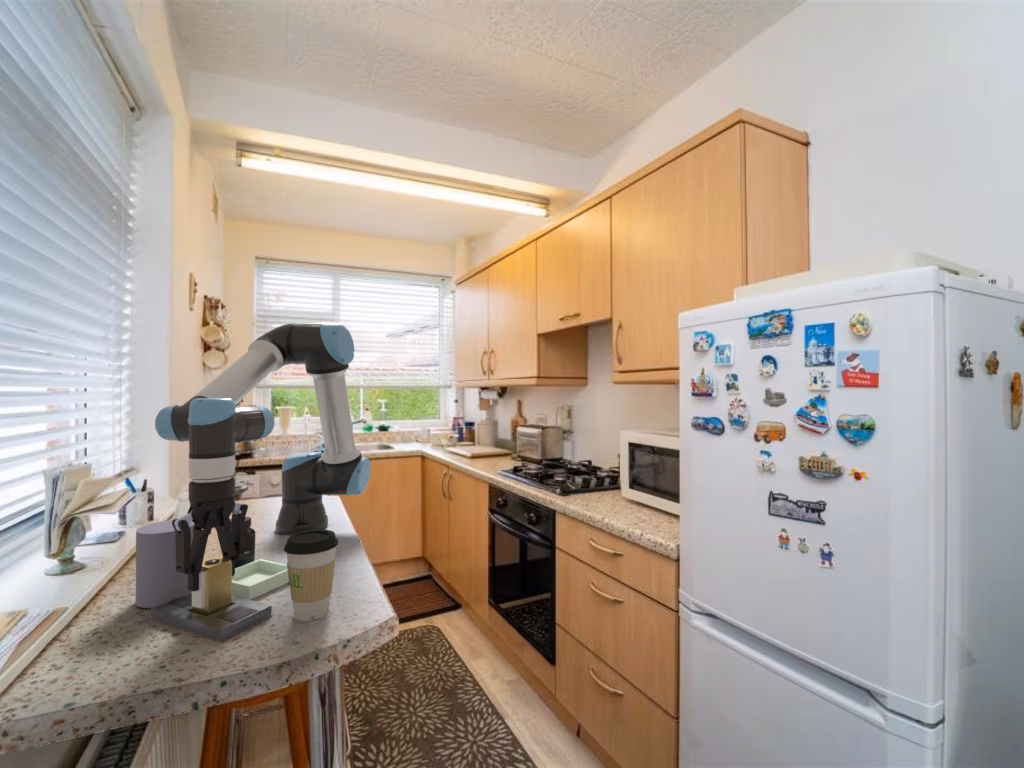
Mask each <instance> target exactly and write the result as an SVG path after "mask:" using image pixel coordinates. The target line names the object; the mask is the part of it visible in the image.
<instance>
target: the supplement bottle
mask: <svg viewBox="0 0 1024 768" xmlns="http://www.w3.org/2000/svg"><path fill="white" fill-rule="evenodd" d="M230 522H231V527H230V529H231V534H232V518H230ZM251 526H252V517H250V516H245V552H244V553H243V554H240V555H239V560H238V561H235V568H238V567H240V566H243V565H246V564H248V563H251V562H254V561H256V530H255V529H254V528H252V527H251Z"/></svg>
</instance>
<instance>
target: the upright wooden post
mask: <svg viewBox="0 0 1024 768" xmlns="http://www.w3.org/2000/svg"><path fill="white" fill-rule="evenodd" d="M201 571H204V572H205V607H204V608H198V607H194V606H193V613H196V614H200V615H203V616H209V615H211V614H213V613H216V612H218V611H220V610H222V609H224V608H227V607H229V606H231V560H230V559H225V558H223V557H221V556H220V557H219V556H213V557H211V558H208V559H203V563H202V568H201Z"/></svg>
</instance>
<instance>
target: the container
mask: <svg viewBox="0 0 1024 768" xmlns="http://www.w3.org/2000/svg"><path fill="white" fill-rule="evenodd" d="M173 520H174V519H172V520H171V519H169V520H162V521H157V522H153V523H152V522H151V523H149V524H146V525H143V526H140V527H138V528H137V529H136V530H135V606H137V607H139V608H141V609H148V610H149V609H150V610H151V608H154V607H156V606H159V605H161V604H164V603H166V602H169V601H172V600H174V599H177V598H179V597H182V596H184V595H187V594H189V593H192V591H189V590H188V574H184V573H180V572H177V571H176V543H175V530H174V528H173V525H172V521H173ZM191 525H192V526H191V527H189V528H190V531H191V545H192V540H193V536H194V534H193V527H194V523H193V521H192V520H191Z"/></svg>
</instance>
